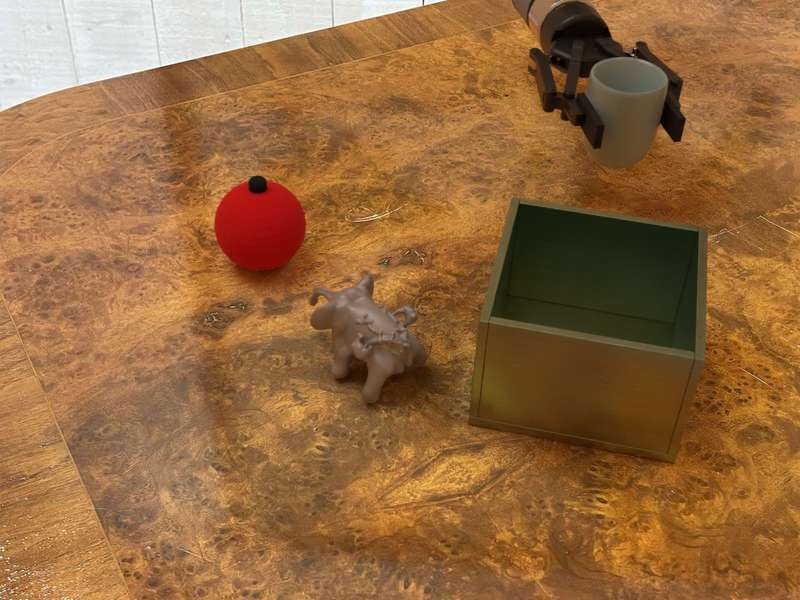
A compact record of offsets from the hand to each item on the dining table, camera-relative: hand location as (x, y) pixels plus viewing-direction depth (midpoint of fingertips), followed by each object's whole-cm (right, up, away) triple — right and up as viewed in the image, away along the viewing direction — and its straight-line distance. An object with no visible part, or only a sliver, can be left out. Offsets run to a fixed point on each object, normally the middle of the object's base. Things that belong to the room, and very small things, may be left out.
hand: (639, 133), depth 107 cm
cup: (-1, -2, +8) cm, 8 cm away
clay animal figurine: (-28, -23, -10) cm, 37 cm away
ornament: (-38, -13, +1) cm, 40 cm away
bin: (-8, -23, -10) cm, 26 cm away
